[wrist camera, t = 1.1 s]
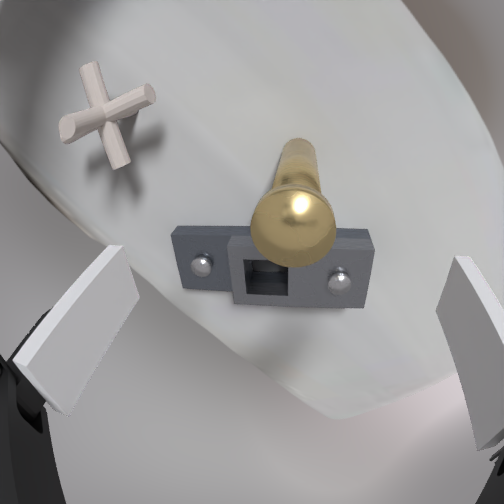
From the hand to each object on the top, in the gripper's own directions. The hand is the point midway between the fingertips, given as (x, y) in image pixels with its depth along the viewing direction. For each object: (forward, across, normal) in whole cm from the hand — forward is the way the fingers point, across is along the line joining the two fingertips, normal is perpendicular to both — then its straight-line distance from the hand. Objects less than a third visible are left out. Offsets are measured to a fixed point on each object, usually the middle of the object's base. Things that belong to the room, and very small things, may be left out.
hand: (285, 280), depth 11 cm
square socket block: (+18, -3, -11) cm, 22 cm away
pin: (+18, 0, 0) cm, 19 cm away
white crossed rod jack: (+19, -16, +6) cm, 25 cm away
